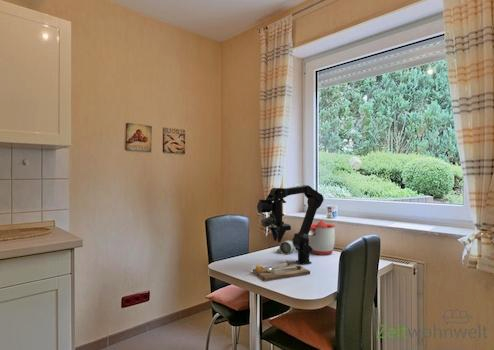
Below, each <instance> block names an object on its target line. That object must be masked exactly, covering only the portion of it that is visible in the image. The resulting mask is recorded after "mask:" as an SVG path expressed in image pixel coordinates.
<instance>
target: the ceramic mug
mask: <svg viewBox="0 0 494 350" xmlns="http://www.w3.org/2000/svg"><path fill="white" fill-rule="evenodd" d="M294 250H295V247H294V245H293V240H288V239H287V240H285V241H282V242H280V244H279V248H278V249H276V252H277V253H282V255H289V254H291V253H292V252H293V251H294Z"/></svg>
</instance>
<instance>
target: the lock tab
mask: <svg viewBox="0 0 494 350" xmlns="http://www.w3.org/2000/svg"><path fill="white" fill-rule="evenodd" d="M263 268H264V267H263V265H261V264H257V265H255V269H256V270H257V271H263Z"/></svg>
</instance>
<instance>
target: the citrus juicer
mask: <svg viewBox="0 0 494 350" xmlns="http://www.w3.org/2000/svg"><path fill="white" fill-rule="evenodd" d="M335 234H336V233H335V225H334V224H332V223H326V222H325V221H324V220H320V221H319V222H318V223H316V222H315V223H312V225H311V228H310V231H309V234H308V236H309V245H310V247H311V248H312V252H311V253H313V254H317V255H320V256H323V255H325V256H326V255H331V254H332V253H333V251H334V247H335V239H336V237H335Z"/></svg>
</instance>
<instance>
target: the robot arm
mask: <svg viewBox="0 0 494 350" xmlns="http://www.w3.org/2000/svg"><path fill="white" fill-rule="evenodd" d="M300 194H304V196H305V197H306V198H307V202H306V203H307V209H306V212H305V215H304V217H303V220H302V223H301V226H300V229H299V232H297V233H296V232H294V234H293V238H292V239H291V241H292V242H293V245H294V247H295V248H294V250H295V251H297V260H295V262H296V263H298V264H300V265H307V264H312V262H313V261H310V253H313V252H312V248H311V246H310V241H309V235H308V234H309V231H310V228H311V225H312V224H313V222H314V219H315V216H316V213H317V210H318V209H319V208H320V207H321V206H322V204H323V202H324V196H323V193H320V192H318V191H317V190H315V189H314V188H313V187H312V186H310V185H307V184H303V185H300V186H299V185H298V186H292V187H272V188H271V189H270V190H269V193H268V195H267V197H266V198H265V199H259V200H258V202H257V205H256V209H257V212H258V213H259V214H262V213H264V214H265V213H269V216H267V217H265V218H263V219H261V220H260V222H261V226H262V227H264V228H268V229H269V230H270V232H271V234H272V238H273V242H274V241H275V242H276V241H277V243H281V241H282V239H283V237H284V235H285V233H286V231H291V230H292V226H291V224H288V223H285V222H284V221H283V217H284V216H285V214H284V213H283V204H286V203H287V201H286V200H285V199H284V198H287V197H289V196H293V195H300Z"/></svg>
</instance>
